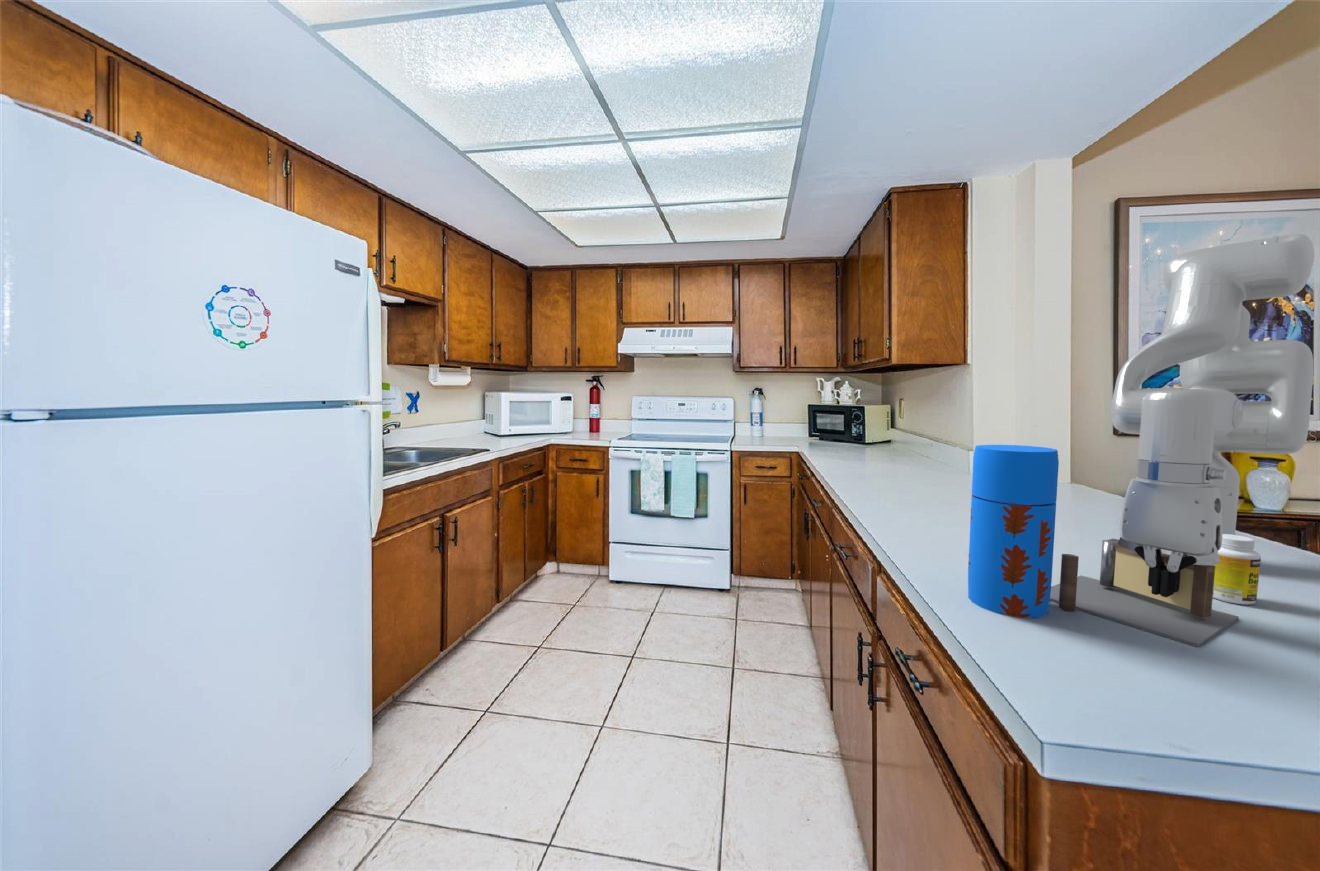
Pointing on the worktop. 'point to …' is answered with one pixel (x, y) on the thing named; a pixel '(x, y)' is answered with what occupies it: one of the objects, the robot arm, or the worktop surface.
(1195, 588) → the gate
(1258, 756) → the worktop surface
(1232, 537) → the supplement bottle
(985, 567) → the thermos
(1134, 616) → the gate frame
